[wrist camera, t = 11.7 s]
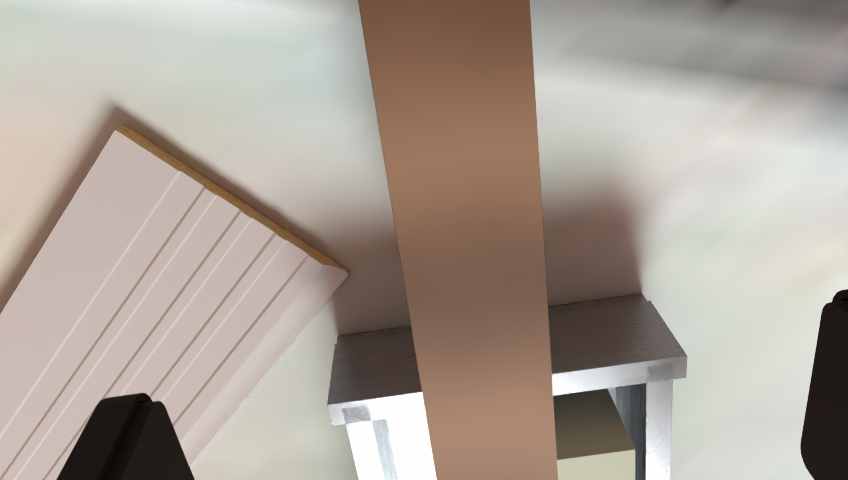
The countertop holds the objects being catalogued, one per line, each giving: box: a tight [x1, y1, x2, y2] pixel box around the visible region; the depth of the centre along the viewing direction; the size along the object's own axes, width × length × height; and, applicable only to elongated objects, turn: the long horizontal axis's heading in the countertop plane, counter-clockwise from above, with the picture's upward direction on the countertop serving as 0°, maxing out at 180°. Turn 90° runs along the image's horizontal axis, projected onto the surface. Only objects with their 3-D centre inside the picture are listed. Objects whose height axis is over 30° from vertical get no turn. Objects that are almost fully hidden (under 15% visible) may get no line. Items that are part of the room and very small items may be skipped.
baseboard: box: [0, 124, 350, 480], centre depth 32 cm, size 31×3×12 cm
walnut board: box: [358, 0, 558, 480], centre depth 20 cm, size 12×3×13 cm, turn 7°
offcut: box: [553, 388, 635, 480], centre depth 29 cm, size 6×4×5 cm, turn 8°
